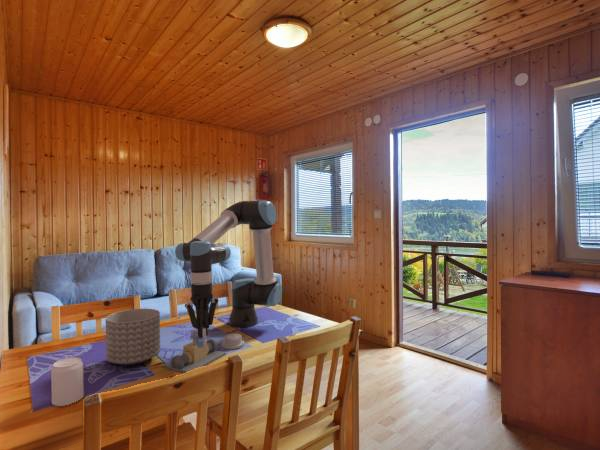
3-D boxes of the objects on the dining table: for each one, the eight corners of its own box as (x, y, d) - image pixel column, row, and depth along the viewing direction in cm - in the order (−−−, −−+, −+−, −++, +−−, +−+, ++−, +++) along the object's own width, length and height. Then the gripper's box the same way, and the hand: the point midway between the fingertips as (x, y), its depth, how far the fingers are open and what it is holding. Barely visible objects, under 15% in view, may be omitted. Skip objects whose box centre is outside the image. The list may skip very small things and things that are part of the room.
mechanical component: (217, 349, 149) (239, 351, 147) (217, 338, 149) (239, 340, 147) (226, 340, 159) (247, 342, 157) (226, 331, 159) (247, 332, 157)
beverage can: (61, 394, 111) (61, 357, 110) (88, 393, 111) (88, 356, 111) (45, 408, 103) (44, 368, 102) (74, 407, 103) (73, 367, 103)
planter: (105, 376, 123) (104, 325, 123) (106, 356, 140) (106, 312, 140) (162, 365, 132) (162, 318, 132) (157, 348, 149) (157, 306, 148)
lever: (190, 336, 137) (190, 330, 137) (198, 335, 139) (198, 329, 139) (196, 348, 125) (196, 341, 125) (205, 346, 127) (205, 340, 126)
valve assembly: (199, 348, 149) (199, 327, 149) (225, 354, 143) (225, 332, 143) (162, 366, 131) (161, 343, 131) (190, 374, 125) (190, 349, 125)
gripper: (211, 278, 137) (212, 338, 138) (180, 283, 128) (182, 347, 129) (221, 281, 132) (223, 343, 133) (190, 286, 123) (192, 352, 124)
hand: (203, 345), depth 131 cm, fingers closed
